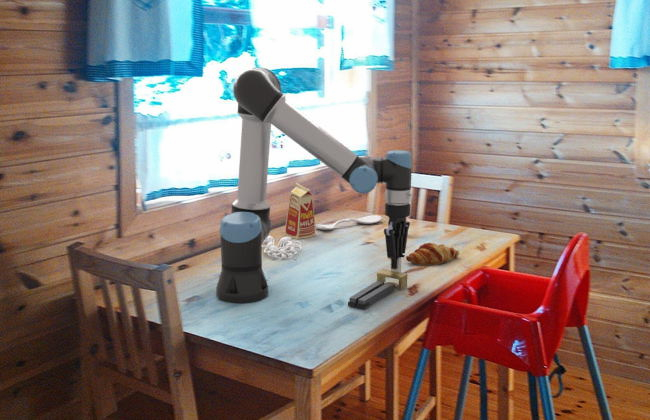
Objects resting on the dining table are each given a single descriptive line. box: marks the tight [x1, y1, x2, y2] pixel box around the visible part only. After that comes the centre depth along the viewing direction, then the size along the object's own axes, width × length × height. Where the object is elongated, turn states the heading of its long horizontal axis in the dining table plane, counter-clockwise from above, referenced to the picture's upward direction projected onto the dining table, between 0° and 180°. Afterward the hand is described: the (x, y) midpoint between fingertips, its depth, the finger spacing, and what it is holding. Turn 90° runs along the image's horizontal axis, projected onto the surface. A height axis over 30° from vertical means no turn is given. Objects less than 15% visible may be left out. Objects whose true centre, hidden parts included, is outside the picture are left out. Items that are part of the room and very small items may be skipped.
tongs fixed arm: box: [355, 281, 398, 310], centre depth 213 cm, size 23×5×2 cm, turn 147°
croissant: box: [405, 242, 460, 266], centre depth 248 cm, size 21×10×8 cm, turn 118°
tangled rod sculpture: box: [262, 235, 302, 261], centre depth 258 cm, size 19×14×4 cm
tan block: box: [376, 269, 408, 291], centre depth 222 cm, size 4×8×4 cm, turn 57°
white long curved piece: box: [315, 214, 383, 231], centre depth 294 cm, size 9×32×4 cm, turn 125°
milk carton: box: [283, 182, 316, 240], centre depth 278 cm, size 9×9×20 cm
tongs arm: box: [347, 280, 385, 308], centre depth 212 cm, size 18×2×2 cm, turn 149°
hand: (395, 278), depth 224 cm, fingers closed
